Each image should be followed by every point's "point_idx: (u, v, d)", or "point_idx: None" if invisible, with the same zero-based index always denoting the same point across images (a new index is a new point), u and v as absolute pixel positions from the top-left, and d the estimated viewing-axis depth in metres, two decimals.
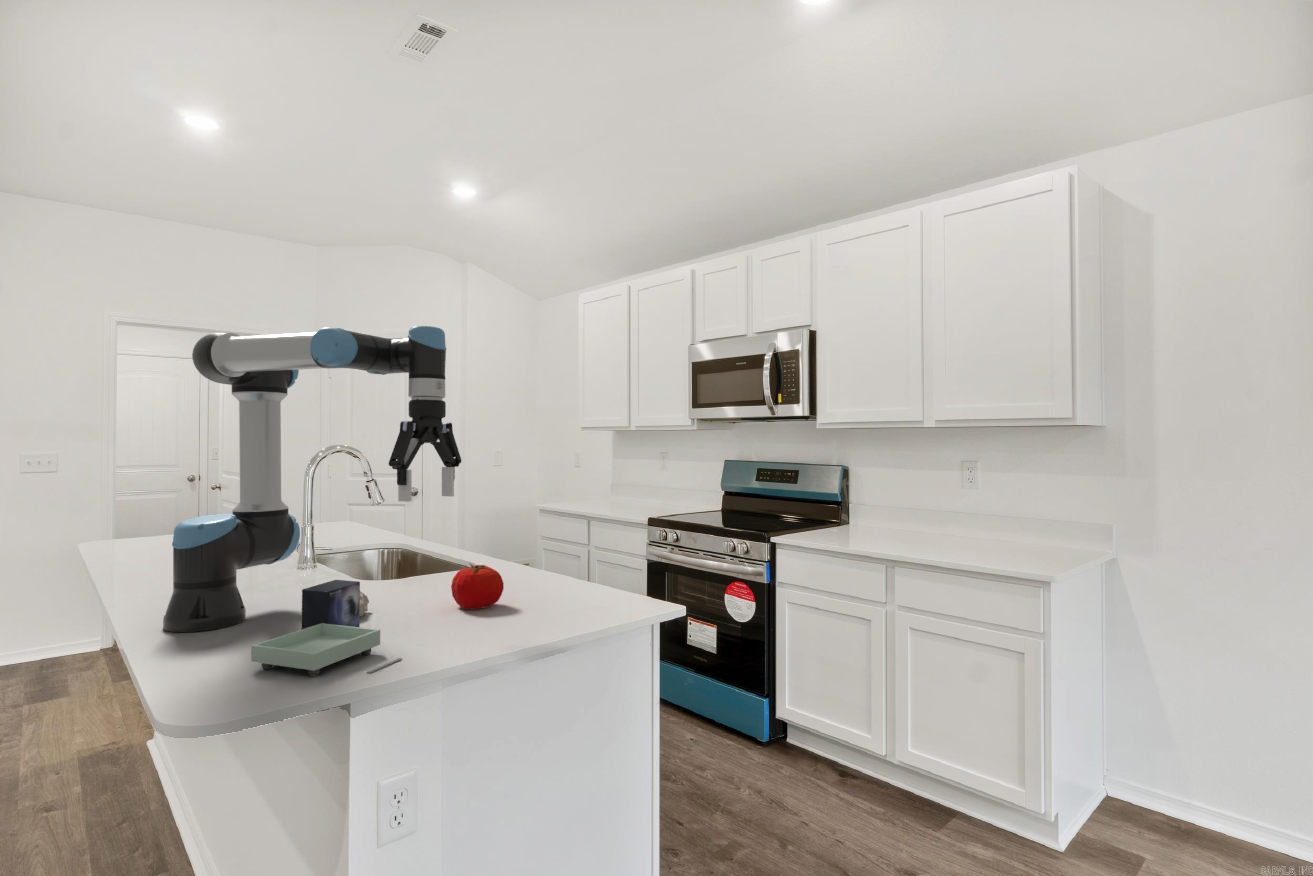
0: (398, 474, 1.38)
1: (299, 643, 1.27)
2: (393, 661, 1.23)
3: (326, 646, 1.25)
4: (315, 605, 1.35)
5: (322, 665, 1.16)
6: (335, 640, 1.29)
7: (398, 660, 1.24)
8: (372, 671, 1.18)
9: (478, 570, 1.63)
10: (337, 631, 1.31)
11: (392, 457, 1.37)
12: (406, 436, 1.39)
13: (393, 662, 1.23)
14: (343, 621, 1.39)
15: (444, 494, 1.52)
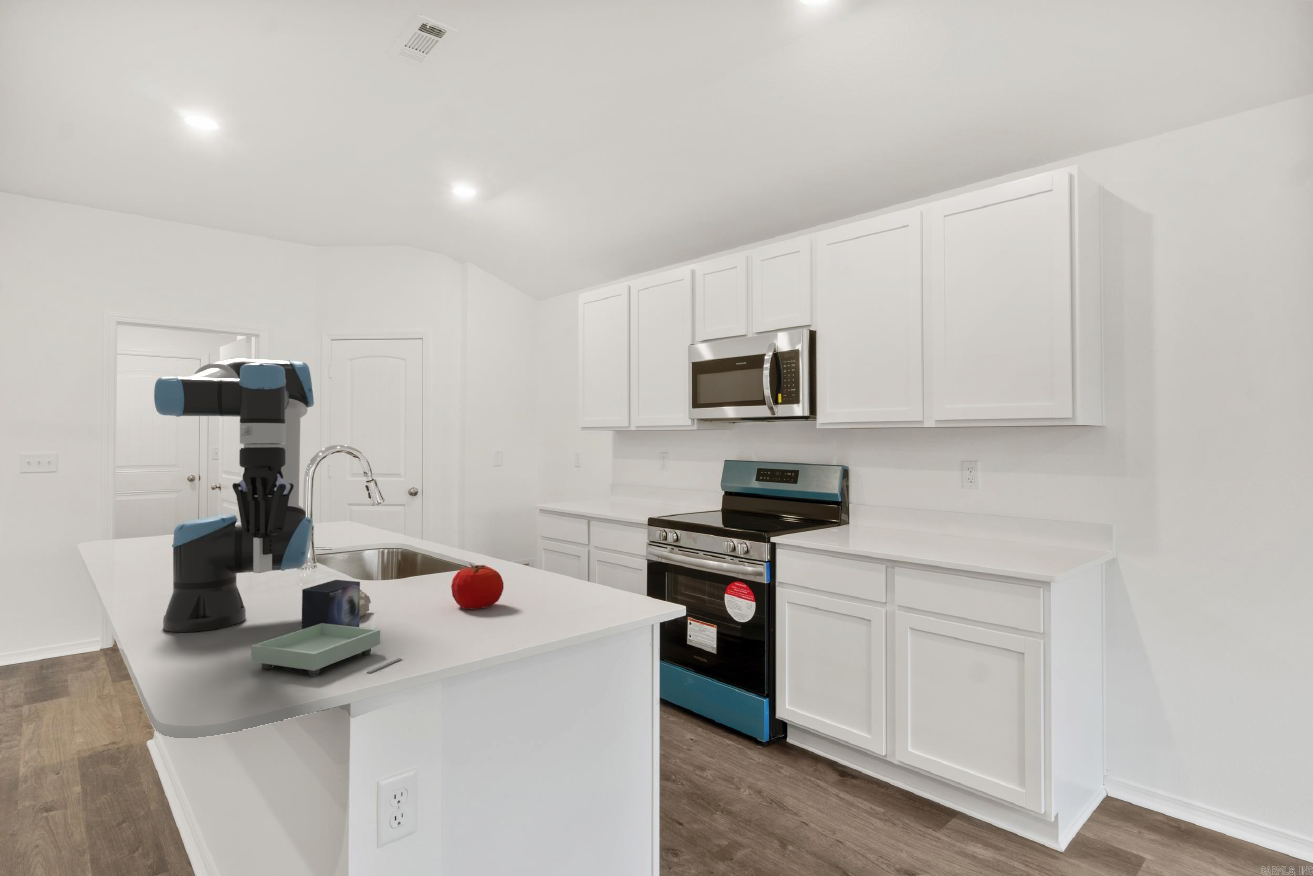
0: None
1: (299, 643, 1.27)
2: (393, 661, 1.23)
3: (326, 646, 1.25)
4: (315, 605, 1.35)
5: (322, 665, 1.16)
6: (335, 640, 1.29)
7: (398, 660, 1.24)
8: (372, 671, 1.18)
9: (478, 570, 1.63)
10: (337, 631, 1.31)
11: None
12: None
13: (393, 662, 1.23)
14: (343, 621, 1.39)
15: None
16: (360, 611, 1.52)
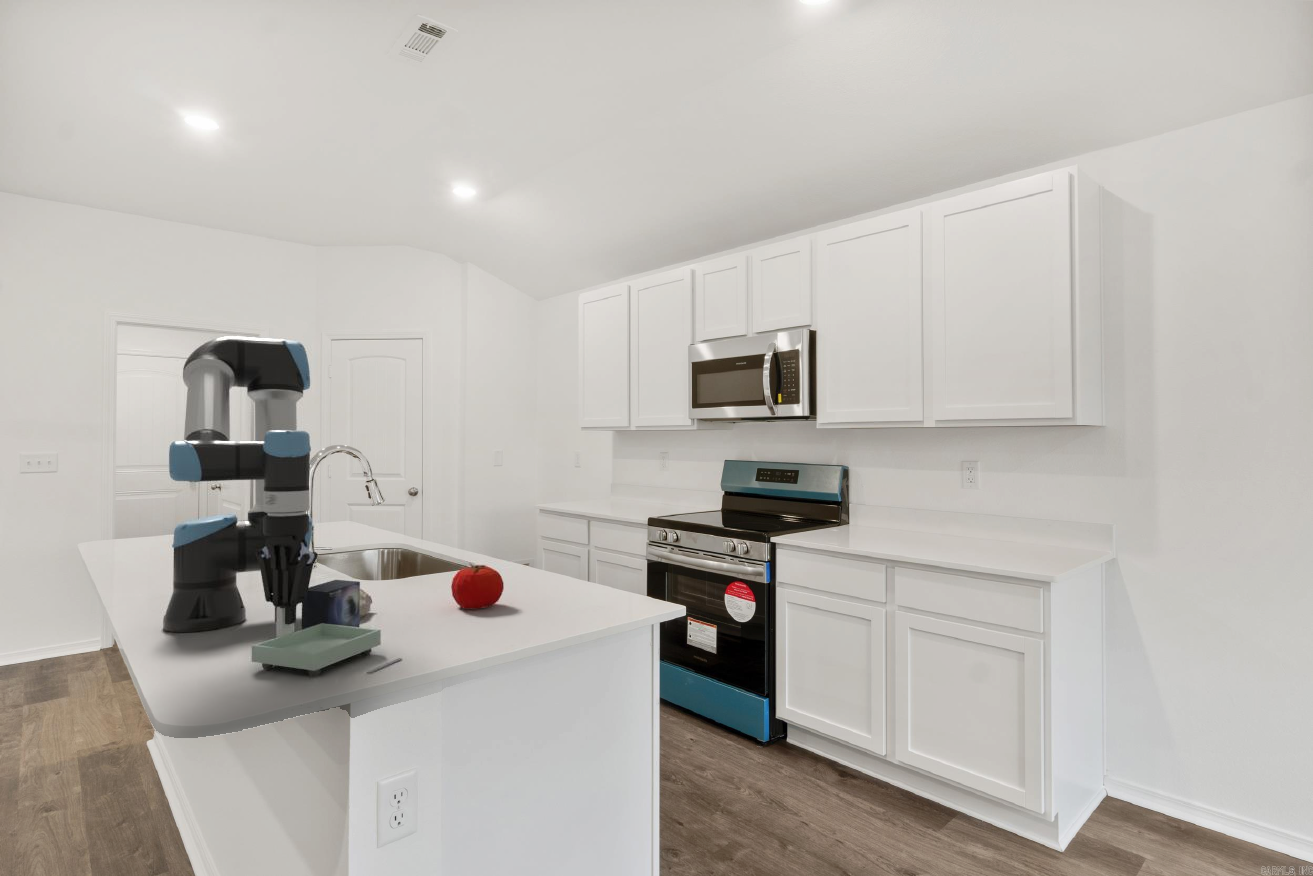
0: None
1: (299, 643, 1.27)
2: (393, 661, 1.23)
3: (326, 646, 1.25)
4: (315, 605, 1.35)
5: (322, 665, 1.16)
6: (335, 640, 1.28)
7: (398, 660, 1.24)
8: (372, 671, 1.18)
9: (478, 570, 1.63)
10: (337, 631, 1.31)
11: None
12: None
13: (393, 662, 1.23)
14: (343, 621, 1.39)
15: None
16: (361, 611, 1.52)
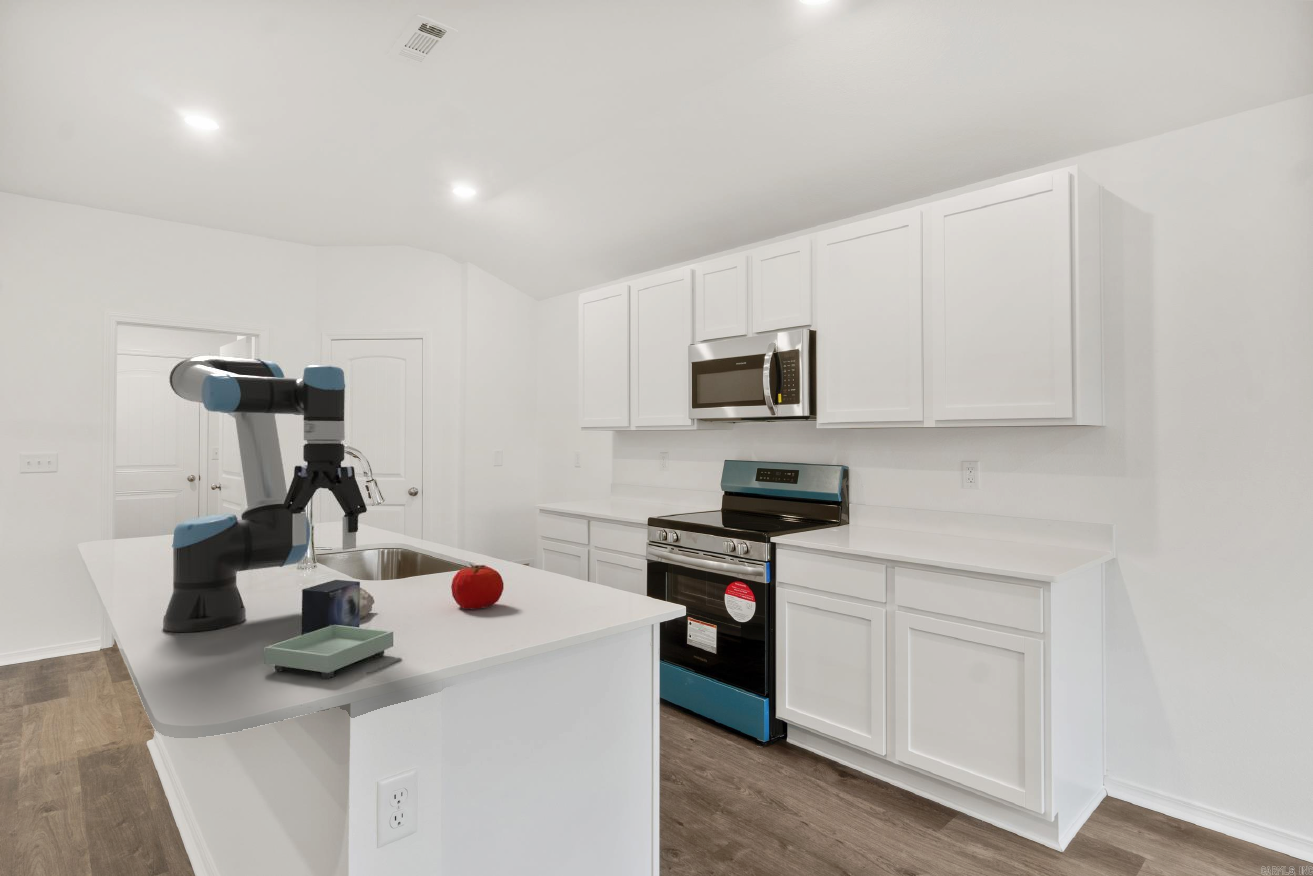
0: None
1: (312, 645, 1.26)
2: (393, 661, 1.23)
3: (339, 648, 1.24)
4: (315, 605, 1.35)
5: (336, 667, 1.15)
6: (348, 642, 1.27)
7: (398, 660, 1.24)
8: (372, 671, 1.18)
9: (478, 570, 1.63)
10: (350, 633, 1.30)
11: None
12: None
13: (393, 662, 1.23)
14: (343, 621, 1.39)
15: None
16: (361, 611, 1.52)
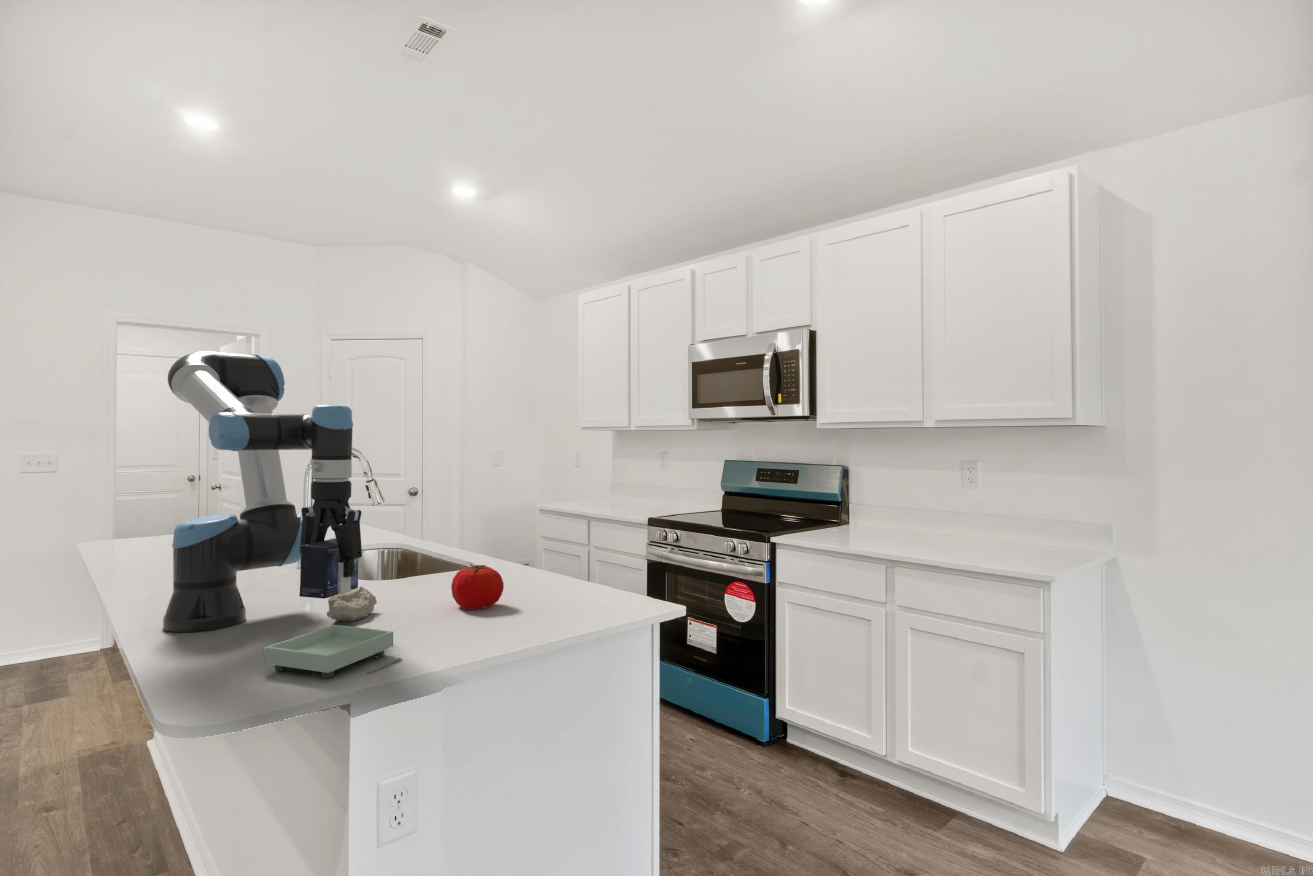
0: None
1: (312, 645, 1.26)
2: (393, 661, 1.23)
3: (339, 648, 1.24)
4: (314, 561, 1.36)
5: (336, 667, 1.15)
6: (348, 642, 1.27)
7: (398, 660, 1.24)
8: (372, 671, 1.18)
9: (478, 570, 1.63)
10: (350, 633, 1.30)
11: None
12: None
13: (393, 662, 1.23)
14: None
15: None
16: (362, 612, 1.52)
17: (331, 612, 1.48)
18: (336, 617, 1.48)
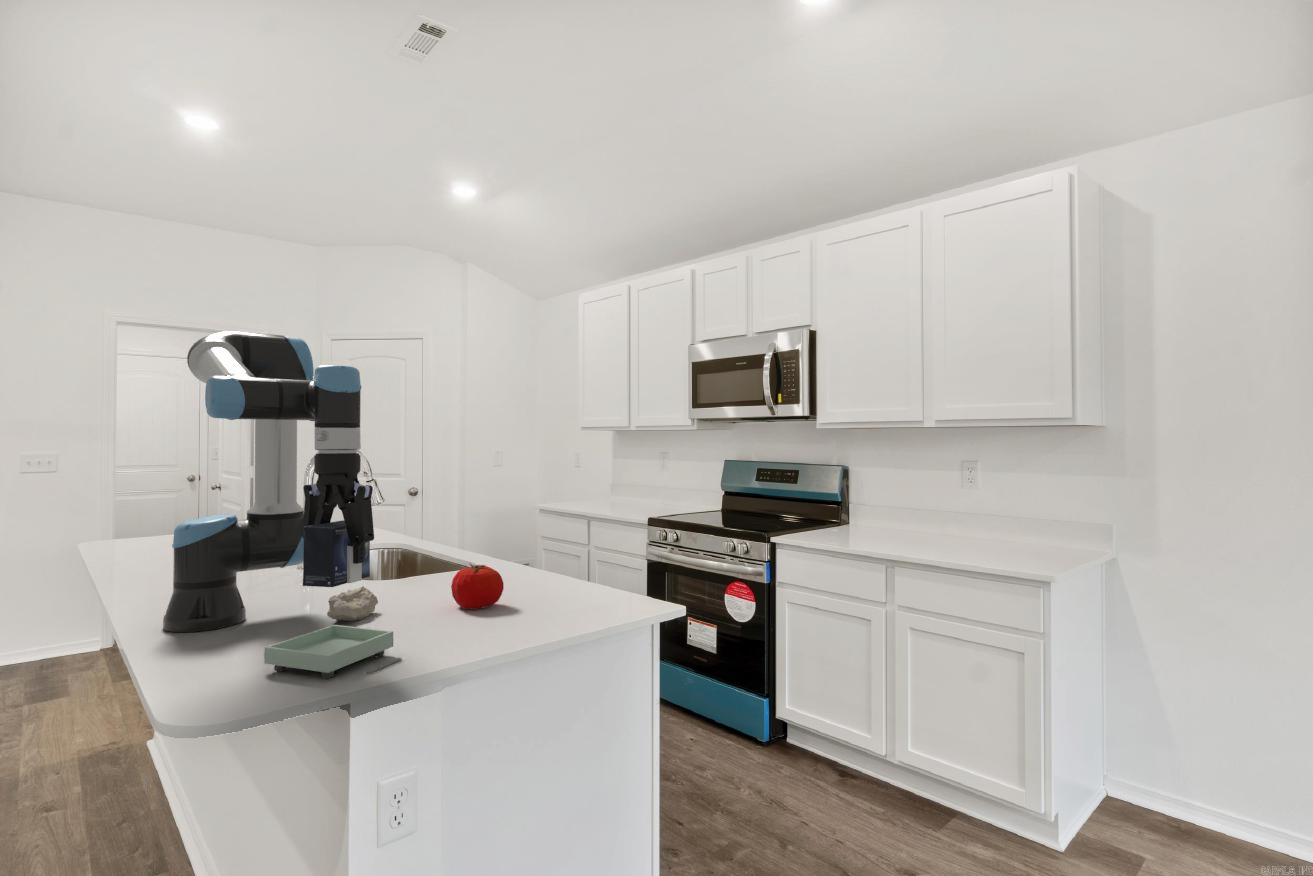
0: None
1: (312, 645, 1.26)
2: (393, 661, 1.23)
3: (339, 648, 1.24)
4: (319, 544, 1.17)
5: (336, 667, 1.15)
6: (348, 642, 1.27)
7: (398, 660, 1.24)
8: (372, 671, 1.18)
9: (478, 570, 1.63)
10: (350, 633, 1.30)
11: None
12: None
13: (393, 662, 1.23)
14: None
15: None
16: (362, 612, 1.51)
17: (331, 612, 1.48)
18: (336, 617, 1.48)
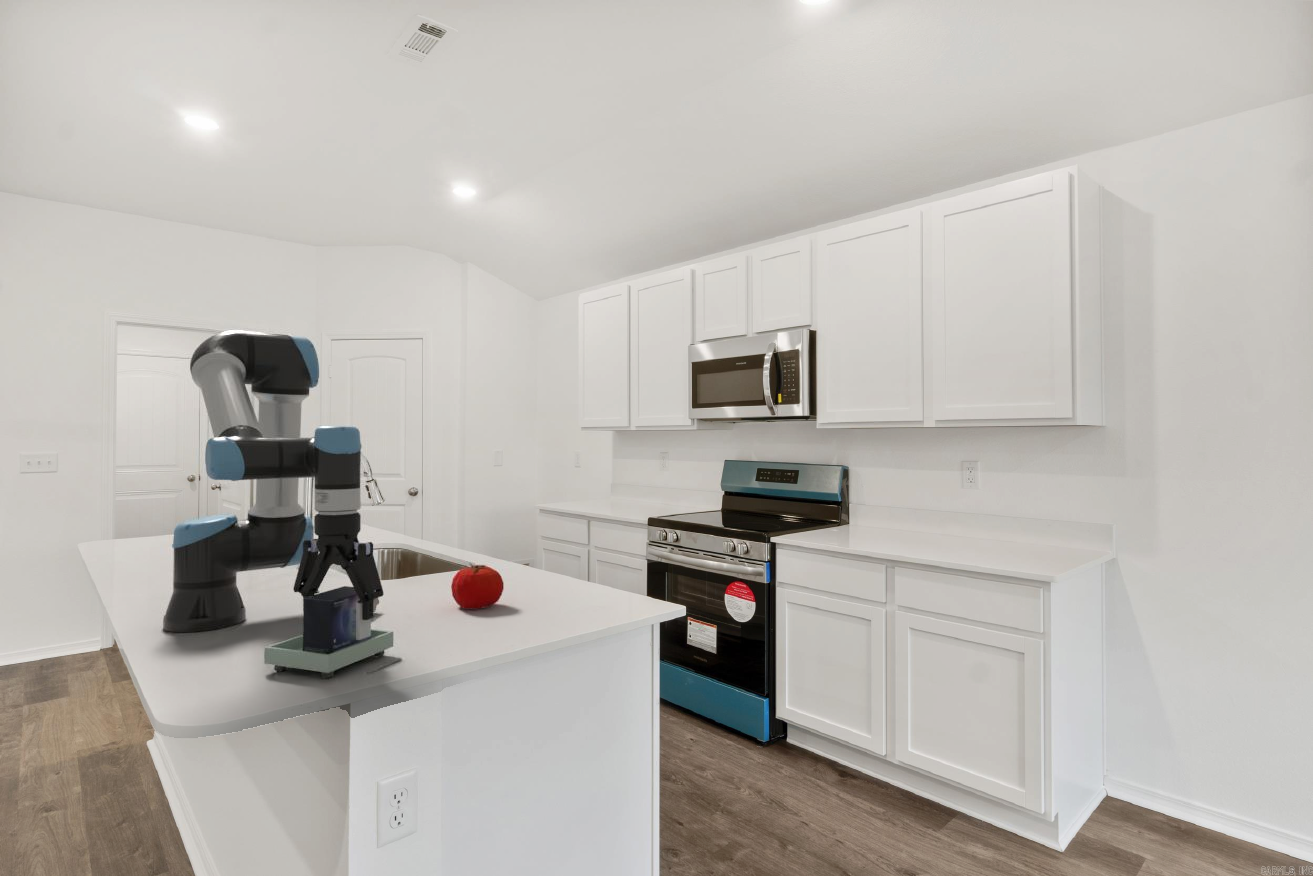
0: None
1: None
2: (393, 661, 1.23)
3: None
4: (318, 616, 1.17)
5: (336, 667, 1.15)
6: None
7: (398, 660, 1.24)
8: (372, 671, 1.18)
9: (478, 570, 1.63)
10: None
11: None
12: None
13: (393, 662, 1.23)
14: (350, 635, 1.21)
15: None
16: None
17: None
18: None
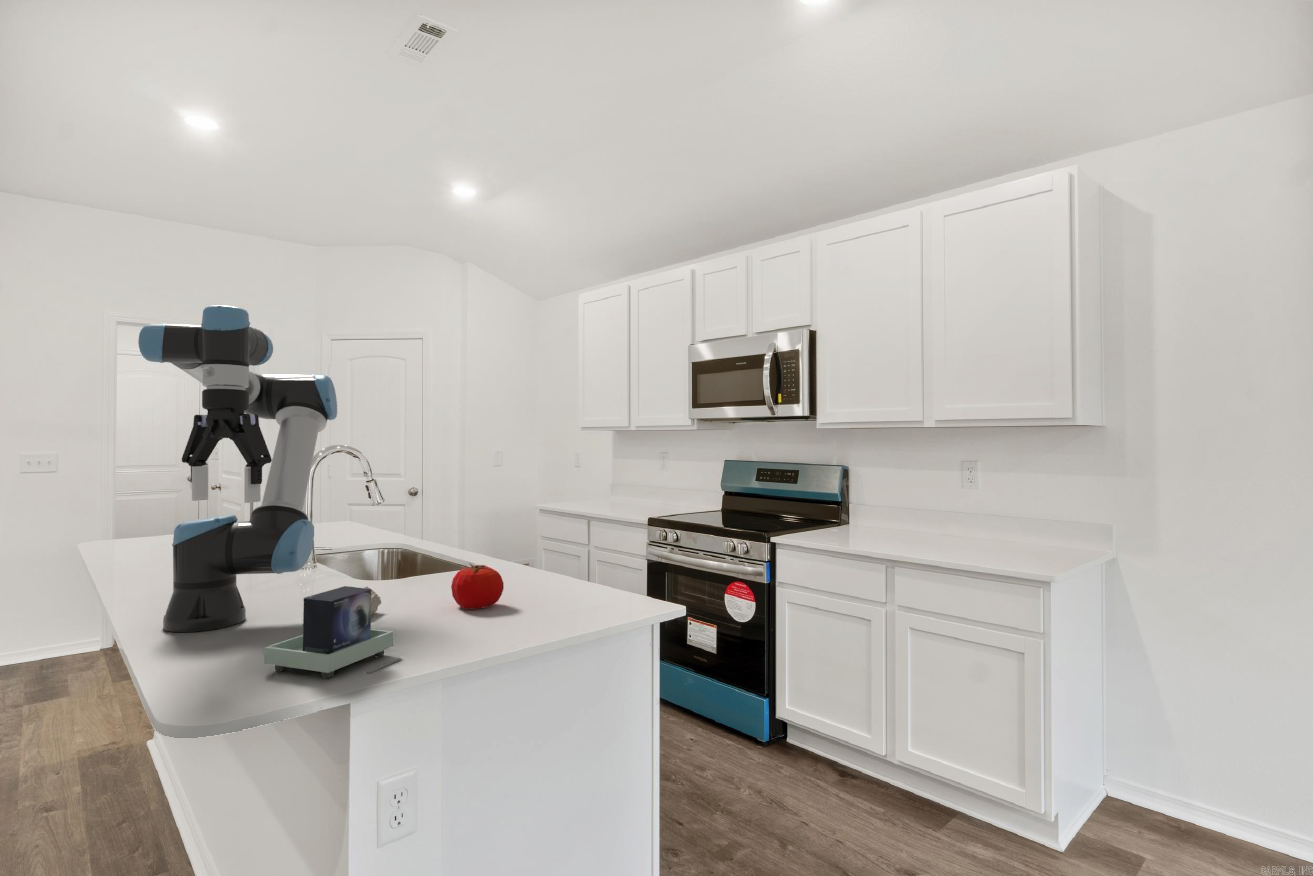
0: None
1: None
2: (393, 661, 1.23)
3: None
4: (318, 616, 1.17)
5: (336, 667, 1.15)
6: None
7: (398, 660, 1.24)
8: (372, 671, 1.18)
9: (478, 570, 1.63)
10: None
11: None
12: None
13: (393, 662, 1.23)
14: (350, 635, 1.21)
15: None
16: None
17: None
18: None
